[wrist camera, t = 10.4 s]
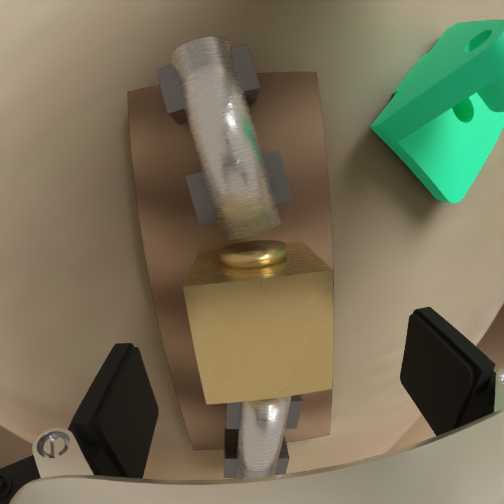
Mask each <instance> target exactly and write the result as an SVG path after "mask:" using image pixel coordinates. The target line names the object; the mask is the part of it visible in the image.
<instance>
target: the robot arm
mask: <svg viewBox="0 0 504 504" xmlns="http://www.w3.org/2000/svg"><path fill="white" fill-rule="evenodd" d="M494 367H495V363H494V362H492V361H491V360H490V359H489V358H488V357H487V356H486V355H485V354H484V353H483V352H481V351H480V350H479V349H478V348H477V347H476V346H475V345H474V344H473V343H471V342H470V341H469V340H468V339H467V338H466V337H465V336H463V335H462V334H461V333H460V332H459V331H458V330H457V329H455V328H454V327H453V326H452V325H451V324H450V323H448V322H447V321H446V320H445V319H444V318H443V317H441V316H440V315H439V314H438V313H437V312H435V311H434V310H433V309H432V308H430V307H425V308H421V309H416V310H414V312H413V314H411V315H410V317H409V323H408V330H407V337H406V344H405V350H404V356H403V362H402V368H401V373H400V380H401V383H402V385H403V386H404V388H405V389H406V391H407V392H408V394H409V395H410V397H411V398H412V400H413V401H414V403H415V404H416V406H417V407H418V409H419V410H420V412H421V413H422V415H423V416H424V418H425V419H426V421H427V422H428V423H429V425H430V427H431V428H432V430H433V431H434V433H435V434H436V437H434V438H431V439H428V440H425V441H422V442H419V443H416V444H413V445H411V446H407V447H404V448H401V449H398V450H395V451H391V452H388V453H384V454H381V455H377V456H374V457H370V458H366V459H362V460H358V461H354V462H350V463H345V464H341V465H336V466H331V467H326V468H321V469H315V470H310V471H304V472H297V473H290V474H283V475H275V476H266V477H255V478H243V479H227V480H157V479H142V478H143V474H144V470H145V466H146V462H147V458H148V453H149V449H150V445H151V441H152V437H153V433H154V430H155V426H156V422H157V418H158V405H157V402H156V400H155V397H154V394H153V391H152V388H151V385H150V382H149V379H148V376H147V373H146V370H145V367H144V364H143V360H142V357H141V354H140V351H139V349H138V348H137V347H134V346H133V344H132V343H118V344H115V345H114V347H113V348H112V350H111V352H110V353H109V355H108V357H107V358H106V360H105V362H104V364H103V365H102V367H101V369H100V370H99V372H98V374H97V376H96V377H95V379H94V381H93V383H92V384H91V386H90V388H89V390H88V392H87V393H86V395H85V397H84V399H83V401H82V402H81V404H80V406H79V408H78V410H77V412H76V413H75V415H74V417H73V419H72V421H71V424H70V426H69V428H68V430H67V429H65V428H51V429H47V430H46V431H44V432H42V433H41V434H39V435H38V436H37V437H36V439H35V440H34V442H33V446H32V450H33V455H32V456H30V457H27V458H25V459H23V460H20V461H18V462H16V463H13V464H11V465H8V466H6V467H4V468H1V469H0V504H504V367H503V368H502V369H500V370H499V371H498V372H497V373H495V372H494V371H493V370H494Z"/></svg>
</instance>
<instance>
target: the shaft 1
mask: <svg viewBox="0 0 504 504" xmlns="http://www.w3.org/2000/svg"><path fill="white" fill-rule="evenodd" d="M171 61H172V65H169V66H166V67H163V68H160V69H157V74H158V78H159V82H160V86H161V90H162V94H163V98H164V101H165V105H166V109H167V113H168V115H170V116H171V117H172V118H173V119H174V120H175V121H176V122H177V123H178V124H179V125H180V124H183V123H187V122H188V124H189V127H190V131H191V134H192V138H193V141H194V145H195V148H196V152H197V155H198V159H199V162H200V166H201V169H202V172H198V173H195V174H192V175H189V176H186V181H187V184H188V188H189V191H190V194H191V198H192V201H193V204H194V208H195V211H196V214H197V218H198V221H199V224H200V227H201V226H204V225H208V224H211V223H214V222H217V224H218V227H219V231H220V234H221V237H222V239H223V240H234V239H240V238H244V237H248V236H252V235H256V234H259V233H262V232H265V231H267V230H270V229H272V228H274V227H276V226H278V225H279V224H280V223H281V221H280V217H279V214H278V210H277V206H276V205H278V204H281V203H285V202H289V201H292V196H291V192H290V188H289V185H288V181H287V177H286V173H285V170H284V166H283V162H282V159H281V155H280V152H279V150H277V151H273V152H269V153H265V154H262V152H261V148H260V145H259V141H258V138H257V134H256V131H255V127H254V124H253V121H252V117H251V114H250V110H249V107H248V105H251V104H255V103H256V100H257V97H258V94H259V91H260V88H261V87H260V84H259V81H258V78H257V75H256V72H255V68H254V65H253V62H252V59H251V56H250V53H249V50H248V47H247V44H246V45H242V46H237V47H233V48H230V45H229V42H228V40H226V39H225V38H222V37H204V38H199V39H196V40H193V41H190V42H187V43H185V44H183V45H181V46H180V47H178V48H177V49H176V50H175V51H174V52H173V53H172V54H171Z"/></svg>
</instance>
